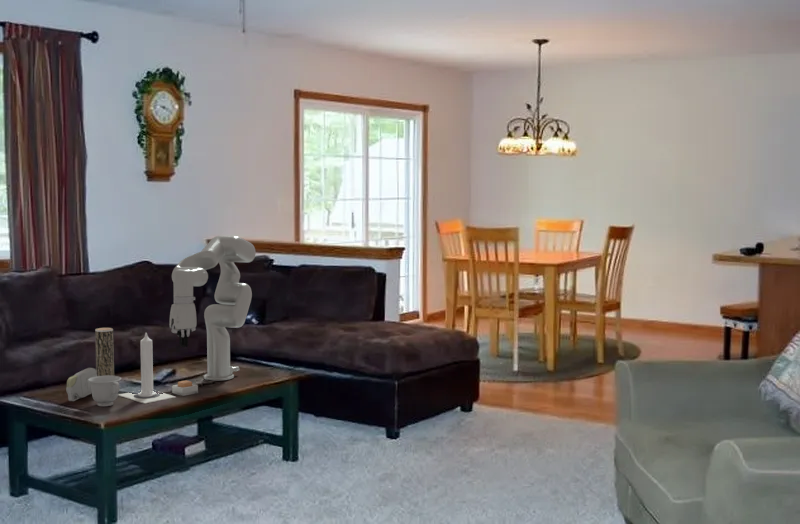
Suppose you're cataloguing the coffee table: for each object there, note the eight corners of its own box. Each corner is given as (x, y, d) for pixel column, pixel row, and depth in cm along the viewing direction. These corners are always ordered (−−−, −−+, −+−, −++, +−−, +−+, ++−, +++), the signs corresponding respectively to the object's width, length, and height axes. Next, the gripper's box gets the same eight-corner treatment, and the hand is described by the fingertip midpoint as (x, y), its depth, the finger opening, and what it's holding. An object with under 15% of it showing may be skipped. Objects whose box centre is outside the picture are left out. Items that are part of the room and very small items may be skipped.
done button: (186, 385, 393) (186, 380, 393) (192, 386, 390) (192, 381, 390) (177, 386, 390) (177, 381, 390) (183, 388, 387) (183, 383, 387)
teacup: (104, 411, 360) (103, 384, 359) (82, 404, 370) (81, 378, 369) (132, 405, 369) (132, 379, 368) (110, 399, 379) (109, 373, 378)
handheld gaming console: (67, 406, 377) (94, 392, 390) (73, 406, 376) (99, 393, 389) (64, 378, 374) (90, 366, 387) (70, 379, 373) (96, 366, 386)
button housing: (187, 390, 395) (187, 382, 395) (198, 392, 390) (197, 385, 390) (172, 393, 390) (172, 385, 390) (182, 395, 385) (182, 388, 385)
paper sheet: (149, 389, 395) (148, 388, 395) (175, 397, 382) (175, 396, 382) (117, 395, 385) (117, 394, 385) (144, 403, 372) (144, 402, 372)
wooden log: (114, 388, 398) (113, 327, 395) (114, 392, 391) (112, 330, 388) (97, 389, 396) (95, 328, 393) (96, 393, 389) (94, 330, 387)
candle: (151, 397, 380) (150, 334, 377) (134, 396, 381) (133, 333, 379) (159, 393, 387) (158, 331, 384) (143, 392, 388) (141, 330, 386)
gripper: (193, 298, 394) (193, 343, 396) (161, 301, 384) (162, 347, 385) (204, 299, 389) (205, 345, 391) (172, 302, 378) (173, 350, 380)
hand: (183, 346), depth 388 cm, fingers closed
